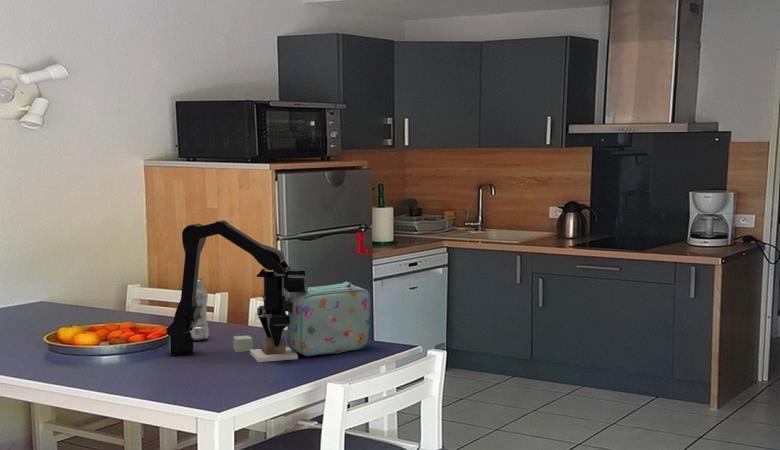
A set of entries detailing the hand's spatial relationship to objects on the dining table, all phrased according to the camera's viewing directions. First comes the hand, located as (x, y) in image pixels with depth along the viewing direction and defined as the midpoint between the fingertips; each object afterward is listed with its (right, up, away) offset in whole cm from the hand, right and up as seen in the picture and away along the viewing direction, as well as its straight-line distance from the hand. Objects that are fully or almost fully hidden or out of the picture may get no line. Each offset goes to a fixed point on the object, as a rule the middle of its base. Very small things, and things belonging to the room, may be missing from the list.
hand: (273, 343), depth 278 cm
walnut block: (0, -3, 0) cm, 3 cm away
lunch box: (+17, -4, +7) cm, 19 cm away
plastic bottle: (-27, -2, +23) cm, 36 cm away
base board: (0, -4, 0) cm, 4 cm away
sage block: (-11, -3, +9) cm, 15 cm away
